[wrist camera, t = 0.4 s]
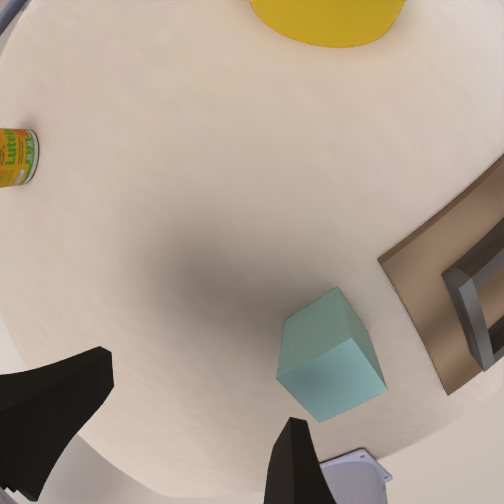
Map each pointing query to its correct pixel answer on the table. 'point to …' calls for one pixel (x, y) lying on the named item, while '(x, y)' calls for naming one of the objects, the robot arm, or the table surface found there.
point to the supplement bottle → (17, 156)
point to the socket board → (457, 280)
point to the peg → (328, 358)
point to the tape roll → (329, 20)
